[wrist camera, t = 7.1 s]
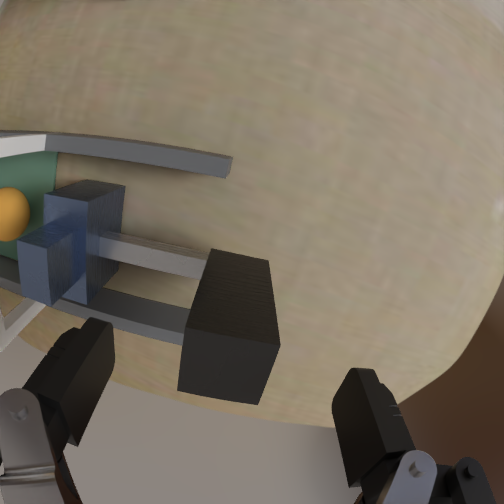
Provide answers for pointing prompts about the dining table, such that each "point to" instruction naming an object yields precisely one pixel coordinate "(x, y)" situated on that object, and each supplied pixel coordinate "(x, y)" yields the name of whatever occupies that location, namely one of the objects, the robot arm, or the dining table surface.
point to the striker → (167, 260)
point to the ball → (13, 213)
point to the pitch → (34, 187)
